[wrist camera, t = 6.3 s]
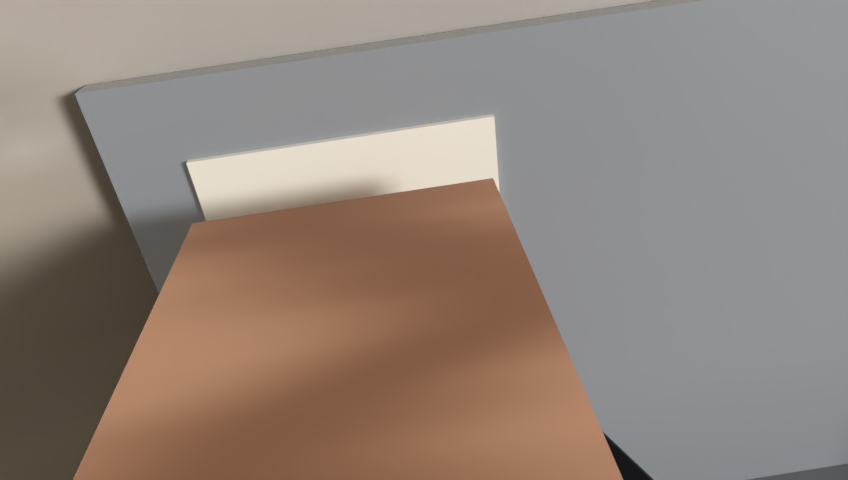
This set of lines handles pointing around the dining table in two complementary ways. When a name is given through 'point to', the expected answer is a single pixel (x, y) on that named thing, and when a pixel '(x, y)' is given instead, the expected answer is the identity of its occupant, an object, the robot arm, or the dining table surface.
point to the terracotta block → (353, 353)
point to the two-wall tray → (572, 196)
